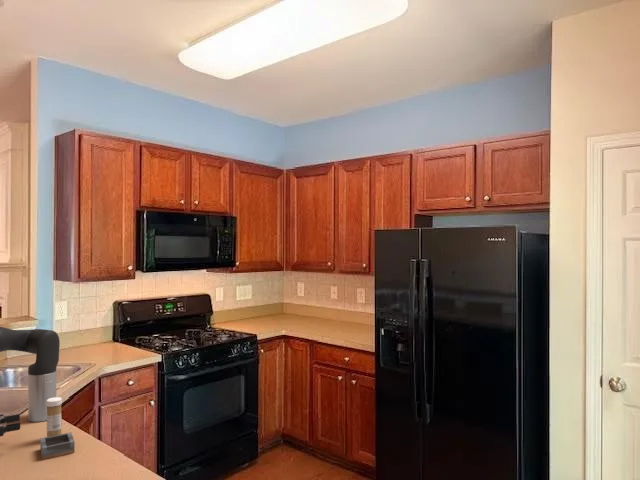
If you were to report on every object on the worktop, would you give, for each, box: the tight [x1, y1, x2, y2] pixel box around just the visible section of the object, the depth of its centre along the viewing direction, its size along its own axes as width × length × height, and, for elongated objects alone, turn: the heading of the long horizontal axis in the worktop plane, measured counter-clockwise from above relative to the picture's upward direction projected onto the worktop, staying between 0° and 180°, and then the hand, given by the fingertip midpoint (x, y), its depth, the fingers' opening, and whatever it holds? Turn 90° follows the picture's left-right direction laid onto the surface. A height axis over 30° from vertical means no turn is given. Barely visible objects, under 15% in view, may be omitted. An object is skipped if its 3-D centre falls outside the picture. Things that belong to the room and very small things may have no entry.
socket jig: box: [39, 432, 76, 460], centre depth 151 cm, size 9×9×4 cm
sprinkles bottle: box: [46, 396, 63, 437], centre depth 161 cm, size 5×5×14 cm
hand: (20, 421), depth 155 cm, fingers open, 8 cm apart
